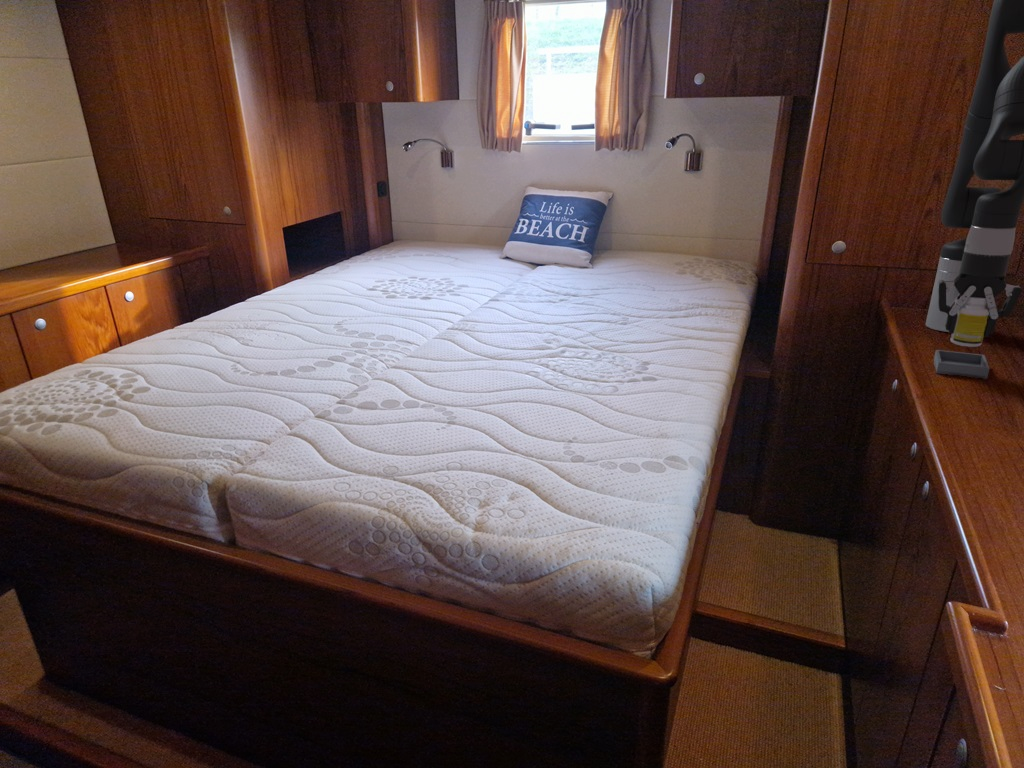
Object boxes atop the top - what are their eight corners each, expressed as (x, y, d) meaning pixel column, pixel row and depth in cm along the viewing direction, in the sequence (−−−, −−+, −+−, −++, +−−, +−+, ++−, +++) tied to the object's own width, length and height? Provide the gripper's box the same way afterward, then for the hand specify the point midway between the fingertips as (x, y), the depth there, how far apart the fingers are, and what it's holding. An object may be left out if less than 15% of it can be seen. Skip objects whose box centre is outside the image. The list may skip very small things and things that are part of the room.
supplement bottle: (986, 348, 131) (998, 299, 127) (956, 347, 132) (967, 299, 129) (974, 339, 136) (986, 293, 132) (945, 338, 137) (956, 292, 133)
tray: (933, 360, 142) (935, 349, 141) (981, 365, 138) (984, 354, 137) (936, 373, 135) (938, 362, 134) (986, 379, 131) (989, 368, 130)
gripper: (1029, 249, 127) (1007, 333, 133) (942, 244, 133) (925, 325, 140) (1037, 256, 121) (1013, 343, 127) (945, 251, 127) (927, 335, 133)
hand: (967, 333), depth 133 cm, fingers closed on supplement bottle, 5 cm apart
